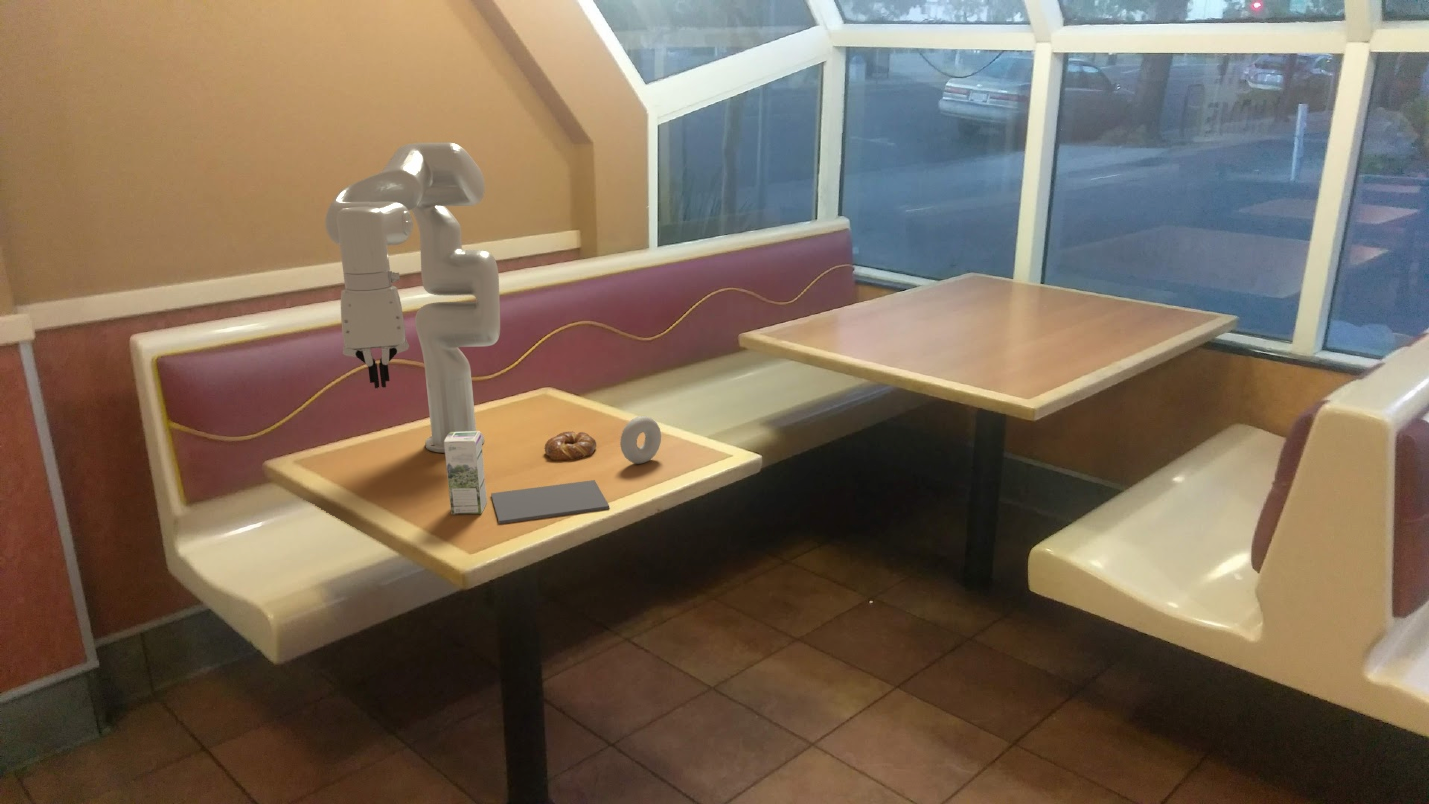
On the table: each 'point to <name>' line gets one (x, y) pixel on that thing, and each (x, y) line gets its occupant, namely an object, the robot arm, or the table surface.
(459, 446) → the syrup box
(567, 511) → the mat
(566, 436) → the pretzel
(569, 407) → the table surface
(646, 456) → the donut
